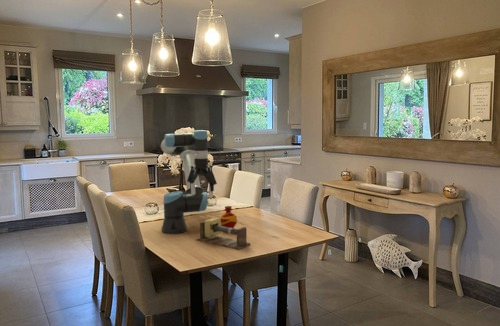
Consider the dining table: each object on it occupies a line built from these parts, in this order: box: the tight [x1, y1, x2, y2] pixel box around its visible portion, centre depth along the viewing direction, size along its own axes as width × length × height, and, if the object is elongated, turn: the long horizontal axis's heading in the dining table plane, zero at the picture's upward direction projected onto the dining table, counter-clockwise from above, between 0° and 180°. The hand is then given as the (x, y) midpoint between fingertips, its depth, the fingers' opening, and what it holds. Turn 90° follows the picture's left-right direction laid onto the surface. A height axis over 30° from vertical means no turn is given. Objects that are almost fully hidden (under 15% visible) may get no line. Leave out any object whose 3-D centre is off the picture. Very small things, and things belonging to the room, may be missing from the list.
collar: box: [204, 216, 222, 238], centre depth 224 cm, size 4×9×9 cm, turn 144°
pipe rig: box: [196, 220, 251, 251], centre depth 220 cm, size 30×10×10 cm, turn 54°
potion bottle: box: [220, 205, 238, 229], centre depth 242 cm, size 10×10×15 cm
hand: (202, 195), depth 227 cm, fingers open, 12 cm apart
